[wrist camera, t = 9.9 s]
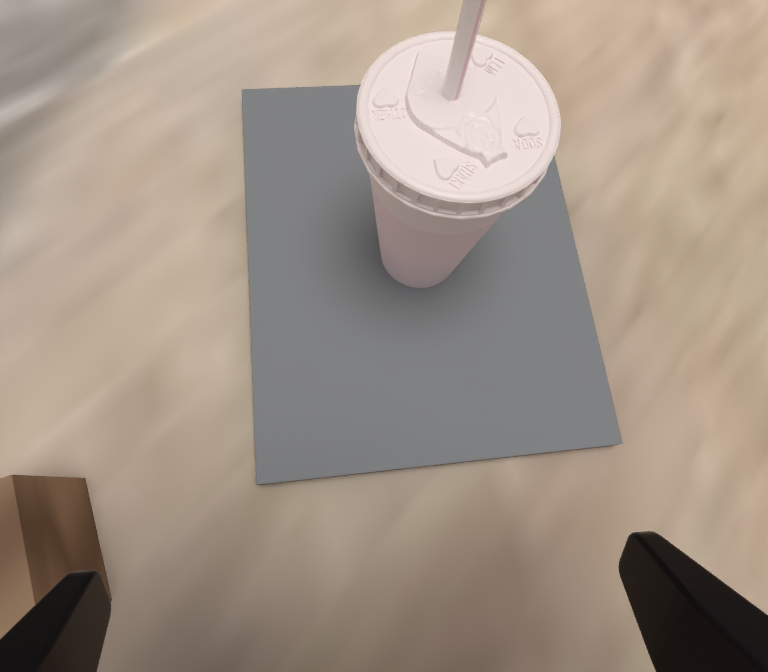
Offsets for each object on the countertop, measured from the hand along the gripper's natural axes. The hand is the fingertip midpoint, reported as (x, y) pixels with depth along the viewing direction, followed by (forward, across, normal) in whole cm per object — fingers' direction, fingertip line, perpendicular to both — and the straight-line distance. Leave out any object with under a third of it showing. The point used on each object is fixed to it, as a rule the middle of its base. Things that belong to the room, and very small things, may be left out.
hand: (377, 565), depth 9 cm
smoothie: (+18, -4, +1) cm, 18 cm away
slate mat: (+18, -4, +1) cm, 18 cm away
